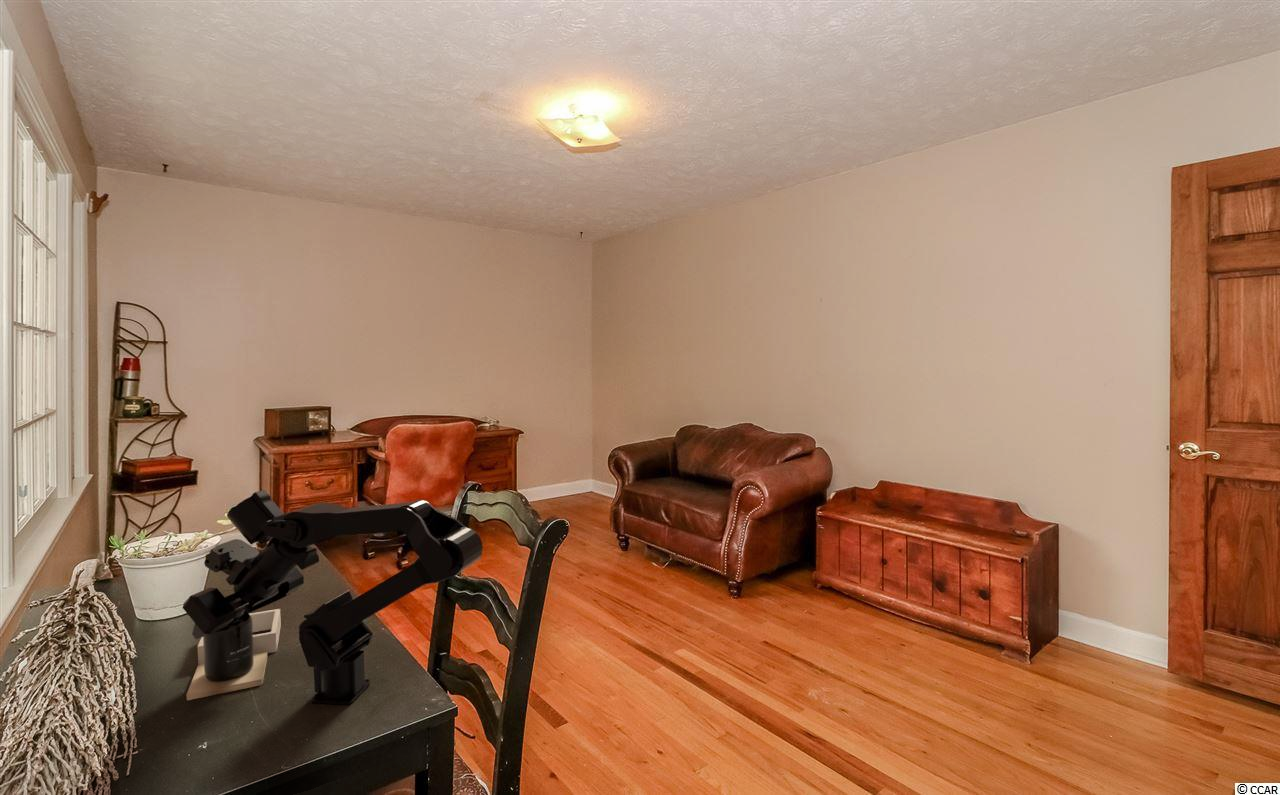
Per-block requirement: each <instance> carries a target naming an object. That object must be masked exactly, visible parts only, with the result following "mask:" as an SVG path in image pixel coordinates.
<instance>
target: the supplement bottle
mask: <svg viewBox="0 0 1280 795" xmlns="http://www.w3.org/2000/svg"><path fill="white" fill-rule="evenodd" d="M240 601H241V600H240ZM244 611H245V605H244V606H242V607H240V608H238V609H236V610H235V618H234V619H233V621H232V622H230V623H229V624H228V626H227V627H225V628H223V629H221V630H219V631H217V632H215V633H212V634H210V635H206V636H203V644H204V672H205V677H206V678H207V679H208V680H210V681H227V680H231V679H235V678H238V677H240V676H242V675H244V674H246V673H247V672H249V671H250V670H251V669H252V667H253V663H254V659H253V658H254V656H253V635H254V632H253V622H252V617H251V616H250V615H249V614H250V613H246V612H244Z"/></svg>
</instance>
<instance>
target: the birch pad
mask: <svg viewBox="0 0 1280 795" xmlns="http://www.w3.org/2000/svg"><path fill="white" fill-rule="evenodd" d="M253 656H254V658H253V659H254V663H253V667H252V669H251V670H250V671H249V672H247V673H246V674H244V675H242V676H240V677H238V678H235V679H231V680H227V681H210V680H208V679H207V678H206V677H205V672H204V664H201V665H197V667H196V669H195V672H194V675H193V678H192V680H191V682H190V685H189V688H188V690H187V692H186V701H191V700H197V699H202V698H205V697H209V696H214V695H216V696H217V695H220V694H224V693H225V694H226V693H229V692H235V691H239V690H244V689H248V688H253V687H254V688H255V687H258V686H263V682H264V678H265V672H266V668H267V667H266V666H267V663H268V662H267V661H268V653H267V652H265V653H259V654H254V655H253Z"/></svg>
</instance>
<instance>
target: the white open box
mask: <svg viewBox="0 0 1280 795" xmlns="http://www.w3.org/2000/svg"><path fill="white" fill-rule="evenodd" d="M248 614H249V615H250V616H251V617H252V622H253V633H257V632H262V631H269V630H270V631H269V632H265V633H258V634H253V655H254V654H259V653H265V652H267V654H272V653H276V652H278V644H279V639H280V633H281V624H282V623H281V621H282V620H281V618H282V617H281V608H277V609H271V610H264V611H263V610H262V611H259V612H258V611H257V612H250V613H248ZM197 662H198V665H201V664H204V644H203V637H201V638H200V640H199V642H198V644H197ZM198 665H197V666H198Z"/></svg>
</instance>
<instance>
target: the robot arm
mask: <svg viewBox="0 0 1280 795" xmlns="http://www.w3.org/2000/svg"><path fill="white" fill-rule="evenodd" d="M226 517H227V519H228V520H229V521H230V522H231V523H232V524H233V525H234V527H235V528H236V529H237V530H238V532H239V533H241V535H242V536H243V537H244V538H245V540H246V541H247V542H248V543H247V542H245V541H244V540H242V539H240V538H239V539H237V538H236V539H231V540H228V541H225V542H223V543H221V544H217V545H216V546H215V547H214V548H212V549H210V551H209V552H208V553H207V554H205V560H204V566H205V567H206V568H207V569H209V570H211V571H213V573H218V572H222V573H224V574H226V575H228V576H227V577H226V579H225V581H226V583H228V585H229V586H233V591H234V593H233V592H232V593H231V594H229V595H227V596H224V594H222V592H221V591H220V590H219V589H218V588H217V587H208V588H206V589H203V590H200V591H199V592H197V593H194V594H192V595H189V597H188V598H187V599H186V600H185V601H184V602H183V604H182V609H183V610H184V612H186V614H187V615H188V616H189V618H190V619H191V620H192V621H193V622H194V626H193V629H192V634H191V635H192V636H193V638H194V639H195V640H198V639H201V637H203V636H206V635H210V634H212V633H215V632H217V631H219V630H221V629H223V628H225V627H227V626H228V624H229V623H230V622H232V621H233V619H234V618H235V610H236V609H238V608H240V607H242V606H244V605H245V611H244V612H246V613H248V614H250V613H254V612H256V611H257V610H259V609H261V608H264V607H266V606H268V605H270V604H273V603H275V602H277V601H279V600H281V599H283V598H286V597H287V596H289V595H291V594H292V593H294V592H296V591H298V590H299V589H300V588H301V587H302V586H303V585H304V583H305V582H304V580H305V579H304V578H305V576H304V575H303V574H302V572H301V571H302V570H303V571H304V570H305V569H308V568H310V567H311V566H315V565H317V564H319V563H320V556H319V555H318V549H317V548H316V547H312V545H316V544H318V543H322V542H324V541H327V540H330V539H333V538H338V537H343V536H355V535H366V534H368V535H369V534H378V533H392V532H401V533H403V534H404V535H405V536H406V537H407V539H408V541H409V543H410V545H411V548H412V549H413V551H414V553H415V554H416V555H417V558H416V559H415V560H414V561H413V562H412V563H411V564H410V565H408V566H407V567H405V568H403V569H402V570H400V571H399V572H397V573H395V574H393V575H392V576H391V577H389V578H387V579H386V580H383V581H381V582H380V583H379V584H377V585H375V586H373V587H371V588H370V589H369V590H366V591H364V593H362V594H360V595H358V596H352V594H351V592H350V589H348V590H345V591H344V592H343V593H341V594H339V595H337V596H335V597H333V598H331V599H330V600H328V601H326V602H325V603H323V604H321V605H320V606H318V607H316V608H315V609H313V610H311V611H309V612H308V613H306V614H304V615H303V618H305V620H303V621H302V622H301V623H300V624H299V626H298V629H299V630H298V641H299V643H300V647H301V649H302V652H303V655H304V657H305V660H306V663H307V666H308V667H309V668H313V689H314V690H313V691H314V693H315V694H314V695H313V696H312V697H311V698H310V702H311V703H313V704H314V703H315V704H335V705H350V704H353V702H354V701H355V700H356V699H357V698H358V697H359V696H360V695H361V694H362V693H363V692H364V690H365V689H366V688H367V687H368V686H369V685H370V684H371V679H368V678H366V672H365V671H366V668H365V667H366V666H365V665H366V664H365V650H362V649H365V648H366V647H368V646H369V645H370V644H371V641H372V638H373V635H374V634H373V632H372V631H371V630H370V628H369V627H368V626H367V625H366V624H365V623H366V621H367V619H368V618H370V617H371V616H373V615H375V614H377V613H378V612H380V611H382V610H383V609H385V608H387V607H388V606H390V605H392V604H394V603H395V602H397V601H399V600H400V599H402V598H404V597H406V596H408V595H409V594H411V593H413V592H414V591H416V590H418V589H419V588H421V587H422V586H426V585H433V584H438V583H440V582H442V581H446V580H448V579H451V578H454V577H455V576H457V575H459V574H460V573H461V572H462V571H464V570H466V569H467V568H468V567H471V565H473V564H474V563H475V562H477V561H478V560H479V559H480V558H481V557H482V555H483V546H484V545H483V542H482V538H481V537H480V535H479V534H478V533H477V532H476V531H475V530H473V528H469V527H467V526H466V525H464V523H462V522H461V521H460V520H459V519H457V518H455V517H454V516H451V515H449V514H446V513H444V512H443V511H440V510H438V508H435V507H434V506H433V505H432V504H431V503H430V502H429V501H427V500H423V499H416V500H414V501H409V502H398V503H397V502H396V503H387V504H376V505H375V504H374V505H366V506H365V505H364V506H356V507H346V506H343V505H341V504H338V503H331V502H318V503H314V504H310V505H308V506H305V507H302V508H299V509H296V510H295V509H294V510H292V511H290V512H287V513H284V512H283V511H282V510H281V509H280V508H279V506H278V505H277V504H276V503H275V502H274V500H273V499H272V497H271V496H270V495H269V493H268V492H267V491H266V490H265V489H261V490H259V491H255V492H253V493H252V494H251V496H249V497H247V498H246V499H243V500H241V501H240V502H239V503H238V504H237V505H235V506H232V507H231V508H230V509H229V510H228V512H227V514H226ZM431 533H433V534H435V535H438V536H440V537H441V538H439V539H436V537H435V536H433V535H432V534H431ZM255 543H259V544H260V545H263V544H266V543H267V544H266V545H265V546H264V547H263V548H262V549H261V551H259V550H258V549H257V548H255V547H254V546H252V545H253V544H255ZM297 567H298V568H299V569H300V570H301V571H300V570H299V569H298V568H297ZM240 600H241V601H240Z"/></svg>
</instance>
